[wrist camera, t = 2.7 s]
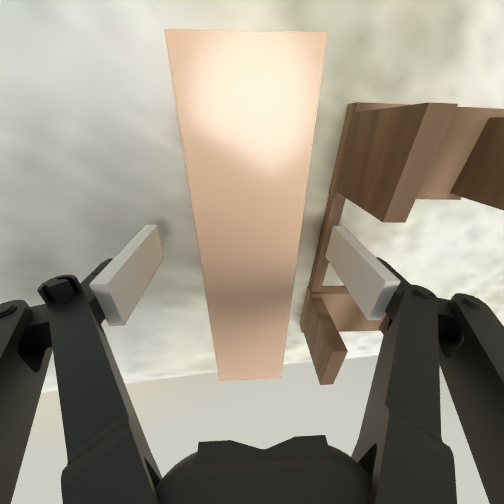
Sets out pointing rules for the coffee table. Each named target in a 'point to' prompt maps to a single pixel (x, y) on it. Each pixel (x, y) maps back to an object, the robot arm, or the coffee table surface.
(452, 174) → the rack
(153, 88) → the coffee table surface
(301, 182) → the peach rectangular block
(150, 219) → the coffee table surface
